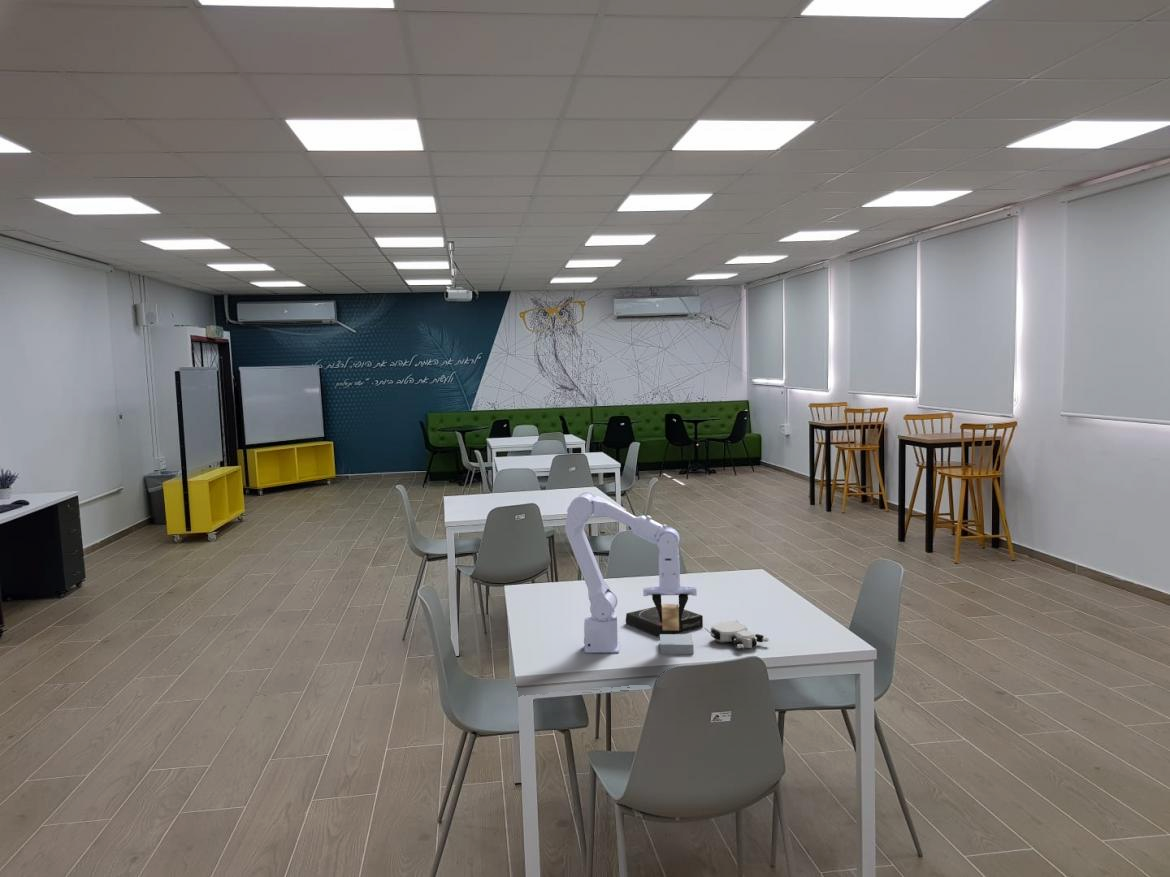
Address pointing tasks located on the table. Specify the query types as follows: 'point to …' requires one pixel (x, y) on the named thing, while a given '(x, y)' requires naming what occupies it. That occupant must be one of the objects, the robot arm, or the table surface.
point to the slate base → (676, 644)
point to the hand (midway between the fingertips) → (670, 621)
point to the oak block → (670, 617)
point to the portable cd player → (652, 625)
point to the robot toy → (735, 634)
